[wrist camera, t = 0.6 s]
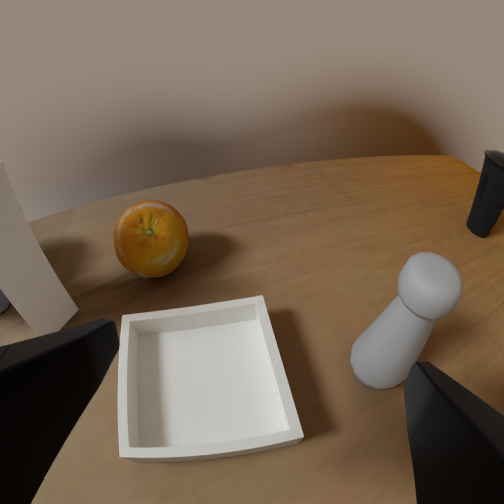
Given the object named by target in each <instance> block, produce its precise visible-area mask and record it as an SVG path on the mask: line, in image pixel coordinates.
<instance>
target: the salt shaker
mask: <svg viewBox="0 0 504 504" xmlns="http://www.w3.org/2000/svg"><path fill="white" fill-rule="evenodd" d="M462 289H463V285H462V281H461V277H460V274H459V272H458V271H457V269H456V268H455V267H454V265H453V264H452V263H451V262H450V261H448V260H447V259H446V258H444V257H443V256H440V255H438V254H435V253H429V252H421V253H417V254H415V255H413V256H411V257H410V258H409V260H408V261H407V262H406V264H405V265H404V267H403V269H402V271H401V272H400V275H399V278H398V296H397V297H396V298H395V299H394V300H393V301H392V303H391V304H390V305H389V306H388V307H387V308H386V309H385V310H384V311H383V312H382V313H381V314H380V315H379V316H378V317H377V319H376V320H375V321H374V322H373V323H372V324H371V325H370V326H369V327H368V328H367V329H366V330H365V331H364V332H363V333H362V334H361V335H360V336H359V337H358V339H357V340H356V341H355V343H354V344H353V346H352V351H351V359H350V362H351V365H352V368H353V371H354V374H355V379H356V380H357V381H359V382H360V383H362V384H363V385H365V386H367V387H368V388H370V389H371V390H379V389H388V388H393V387H395V386H396V385H398V384H399V383H401V382H402V381H404V380H405V379H406V378H407V377H408V375H409V372H410V370H411V368H412V366H413V364H414V363H415V362H416V361H417V359H418V357H419V355H420V353H421V352H422V350H423V348H424V346H425V344H426V342H427V340H428V338H429V336H430V334H431V332H432V329H433V327H434V325H435V323H436V321H437V320H439V319H441V318H443V317H445V316H446V315H447V314H449V313H450V312H452V310H453V309H454V308H455V307H456V306H457V304H458V302H459V299H460V297H461V293H462Z"/></svg>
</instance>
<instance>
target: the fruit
mask: <svg viewBox="0 0 504 504" xmlns="http://www.w3.org/2000/svg"><path fill="white" fill-rule="evenodd" d="M188 244H189V234H188V229H187V225H186V222H185V220H184V219H183V217H182V216H181V215H180V213H179V212H178V211H177V210H176V209H174V208H173V207H172V206H170V205H168V204H166V203H164V202H161V201H156V200H147V201H143V202H140V203H138V204H135V205H133V206H131V207H130V208H128V209H127V210H126V211H125V212H124V213H123V214H122V216H121V217H120V218H119V220H118V222H117V224H116V227H115V231H114V247H115V252H116V255H117V257H118V259H119V261H120V262H121V264H122V265H123V266H124V267H125V268H126V269H127V270H129V271H130V272H132V273H134V274H136V275H138V276H141V277H145V278H158V277H162V276H165V275H168V274H169V273H171V272H172V271H174V270H175V269H176V268H177V267H178V266H179V264H180V263H181V262H182V260H183V259H184V256H185V254H186V251H187V248H188Z"/></svg>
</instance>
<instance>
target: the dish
mask: <svg viewBox="0 0 504 504" xmlns="http://www.w3.org/2000/svg"><path fill="white" fill-rule="evenodd" d="M118 435H119V453H120V457H121V458H124V459H128V460H131V461H134V462H183V461H197V460H208V459H217V458H225V457H233V456H239V455H246V454H251V453H257V452H262V451H267V450H272V449H277V448H281V447H285V446H290V445H294V444H297V443H299V442H300V441H301V440H302V439H303V437H304V435H303V431H302V428H301V424H300V421H299V418H298V414H297V411H296V408H295V404H294V401H293V397H292V394H291V391H290V387H289V384H288V380H287V377H286V374H285V370H284V367H283V363H282V360H281V357H280V353H279V350H278V346H277V343H276V340H275V336H274V333H273V329H272V326H271V322H270V319H269V316H268V312H267V309H266V305H265V302H264V299H263V295H261V296H255V297H249V298H243V299H237V300H231V301H224V302H218V303H211V304H205V305H198V306H191V307H184V308H177V309H169V310H161V311H154V312H145V313H137V314H128V315H122V324H121V335H120V349H119V368H118Z"/></svg>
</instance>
